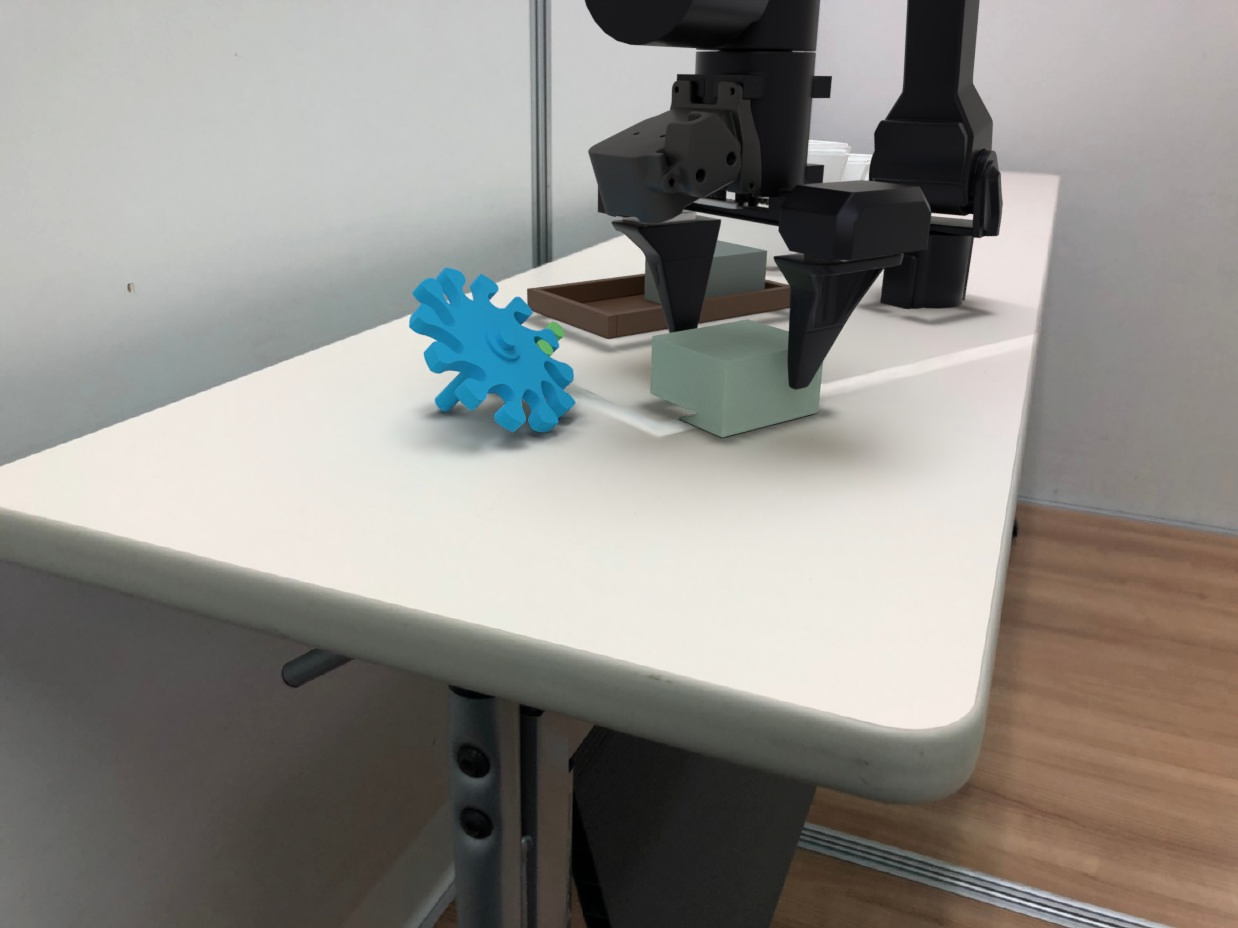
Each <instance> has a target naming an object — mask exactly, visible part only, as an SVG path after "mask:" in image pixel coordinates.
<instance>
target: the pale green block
mask: <svg viewBox="0 0 1238 928" xmlns="http://www.w3.org/2000/svg"><path fill="white" fill-rule="evenodd" d="M788 334H789V330H786V329H782V328H779V327H775V326H772V325H768V324H765V323H761V322H758V321H755V320H751V319H742V320H736V321H732V322H725V323H719V324H714V325H708V326H702V327H697V328H696V329H690V330H685V331H679V332H673V333H669V332H668V333H667V332H666V333H663V334H656V335H652V336H651V367H650V395H652V396H655V397H658V398H659V399H662V400H664V401H667V402H669V403H672V404H673V405H676V406H678V407H681V408H683V409H685V410H688V411H690V412H692V413H693V414H689V415H684V416H680V417H677V419H679V420H681V421H683V422H685V423H688V424H690V425H692V426H693V427H697V428H699V429H702V430H703V431H706V432H708V433H710V434H712V435H715V436H718V437H720V438H727V437H730V436H735V435H739V434H742V433H747V432H750V431H754V430H757V429H761V428H765V427H768V426H772V425H773V426H774V425H776V424H780V423H784V422H788V421H791V420H796V419H801V418H803V417H807V416H811V415H815V414H818V413H819V412H820V411H819V410H820V399H821V389H822V377H823V368H824V367H823V366H824V361H823V362H822V364H821V366H820V368H819V369H818V371H817V373H816V374H815V376H814V378H813V379H812V381H811V383H810V384H809V386H808V387H806V388H802V389H798V390H794V389H791V388H790V387H789V383H788V366H787V355H788Z"/></svg>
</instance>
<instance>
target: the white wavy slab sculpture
mask: <svg viewBox="0 0 1238 928" xmlns="http://www.w3.org/2000/svg"><path fill="white" fill-rule="evenodd" d="M851 150H852V146H850V145H849V143H846V142H841V141H832V140H831V141H829V140H817V139H809V145H808V157H807V163H810V164H820V165H824V175H823V183H828V182H841V181H855V180H866V181H869V167H870V162H871V158H872V155H873V154H869V153H867V154H866V153H851ZM726 198H727V199H732V200H735V193H732V192H727V194H726ZM758 206H761V207H767V208H768V205H762V204H758ZM696 215H699V216H705V217H710V218H716V219H721V226H720V230H719V235H718V239H717V240H719V241H724V242H729V243H733V244H738V245H743V246H748V247H753V248H758V249H762V250H767V262H766V268H767V267H768V268H778V266H777V265H776V263H775V261H774V256H780V255H788V254H795V253H797V252H792V251H789V249H788V248H787V246H786V244H785V242H784V240H783V239H782V237H781V235H780V233H779V231H778V229H779V227H778V226H773V225H767V224H761V223H756V222H750V221H744V220H739V219H733V218H728V217H722V216H716V215H711V214H705V213H700V212H696Z"/></svg>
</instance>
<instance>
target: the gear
mask: <svg viewBox="0 0 1238 928" xmlns="http://www.w3.org/2000/svg"><path fill="white" fill-rule="evenodd" d="M466 283H467V279H466V276H465V274H464V273H463V272H462V271H460V270H458V269H455V268H452V267H444V268H443V269H442V270H441V271H440V272H439V274H438V275H437V276H436V277H435V278H434V277H427V278H426V279H423V280H422V281H420V283H419V284H418V285H417V286H416V288H415V289H413V291H412V292H411V293H412V296H413V297H414V299H415V300H416V301H417V302H418V303H420V305H419V306H418V307H417V308H416V309H415V310H414V312H413V313H412V314H411V315H410V317H409V320H408V327H409V328H410V330H412V331H413V332H415V333H416V334H418V335H421V336H425V337H428V338H431V339H433V340H434V341H432V342H431V344H430V345H428V347H427V348H426V349H425V350H424V351H423V358H424V361H425V364H426V366H427V368H428V369H429V371H430V372H432V373H433V374H437V375H441V374H443V373H445V372H457V373H458V374H457V375H456V376H455V377H454V378H453V379H452V380H451V381H450V382H449V383H448V384H447V385H446V386H445V387H444V388H443V389H442V390H441V391H440V392H439V393H438V395H436V397H434V404H435V406H436V407H437V408H438V409H439V410H441V411H442V412H445V413H447V412H450V411H451V410H452V409H453V408H454V407H455V406H456V405H457V404H458V403H459V402H460V403H461V404H462V405H463V406H464V407H465V408H466V409H467V410H468V411H475V410H476V409H477V408H478V407H479V406H480V405H481V404H483V402H484V401H486V399H487V397H488V395H492V394H495V395H497V396H498V397H499V398H501V399H502V401H503V403H504V404H503V405H502V406H501V407H500V408H499V409H498V410H497V411H496V412H494V414H493V415H494V416H493V418H494V422H495V423H497V424H498V425H499V426H500V427H502V428H503V429H505V430H507V431H509V432H511V433H515V432H516V431H517V430H518V429H519V428H520V427H521V426H522V425H524V423H526V420H527V421H528V425H529V426H530V428H531V430H532V431H535V432H537V433H550V431H552V430H553V428H555V427H556V426H557V425H559V419H560V418H562V417H563V416H564V415H565V414H566V413H567V412H568V411H570V410H571V409H572V408H573V407H574V406H575V404H576V402H577V401H576V400H575V398H574V397H573V396H572V395H571V394H570V393H569V392H567V391H566V390H565V389H566V388H567V387H569V386H570V385H571V384H572V383H573V381H574V378H575V374H574V368H573V367H572V366H570V365H569V364H568V363H566V362H564V361H559V360H557V359H554V358H553V357H551V356H552V355H553V354H554V353H555V352H556V351H557V350H558V349H559V348H560V347H561V346H560V342H559V341H561V340H562V339H563V338H564V336H565V335H566V333H565V330H564V328H563V327H562V326H561V325H560V324H559V323H558V322H556V321H551V322H550V323H549V324H548V325H547V326H546V327H544V328H543V329H539V330H536V329H532V328H529V327H527V326H524V325H523V324H524V323H525V322H526V321H527V320H528V319H529V318H530V317H531V316H532V315H533V314H534V312H533V311H532V310H531V309H530V307H529V306H528V305H527V302H526V301H525V300H524V299H523V298H522V297H520V296H514V297H513V298H512V299H511V300H510V302H508V304H507V305H506V306H505V307H497V306H496V305H494V304H493V303H492V302H491V299H492V298H493V297H495V295H496V294H497V293H498V292H499V289H500V288H499V285H498V284H497V283H496V282H495V281H494V280H492V279H491V278H489V277H488V276H486V275H484V274H483V273H480V274H478V276H477V277H476V278H475V279H474V280H473V281H472V282H471V283H470V284H469V290H470V292H471V295H472V299H470V298H469V297H468V296H467V295H466V294H465V292H464V289H463V288H464V286H465V285H466ZM445 297H446V298H445ZM446 299H447V300H448V301H447V300H446ZM522 401H523V402H525V403H526V404H527V405H528V407H529V409H530V413H529V415H528V418H527V417H526V413H525V410H524V407H523V402H522Z"/></svg>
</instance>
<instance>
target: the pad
mask: <svg viewBox="0 0 1238 928" xmlns="http://www.w3.org/2000/svg"><path fill="white" fill-rule="evenodd" d="M766 262H767V250H762V249H758V248H753V247H748V246H743V245H738V244H733V243H729V242H724V241H719V240H717V244H716V248H715V253H714V257H713V262H712V266H711V271H710V275H709V280H708V284H707V289H706V293H705V298H712V297H718V296H725V295H731V294H738V293H745V292H751V291H758V290H764V289H765V279H766V275H767V267H766ZM644 274H645V296H644V299H645V300H648V301H652V302H655V303H658V304H661V303H660V299H659V296H658V293H657V289H656V286H655V283H654V279H653V276H652V274H651V271H650V268H649V265H648V263H647V260H646V257H645V256H644ZM705 298H704V299H705Z"/></svg>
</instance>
